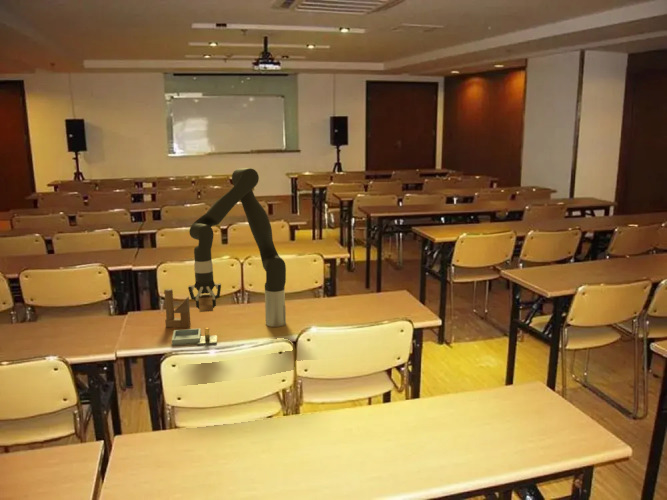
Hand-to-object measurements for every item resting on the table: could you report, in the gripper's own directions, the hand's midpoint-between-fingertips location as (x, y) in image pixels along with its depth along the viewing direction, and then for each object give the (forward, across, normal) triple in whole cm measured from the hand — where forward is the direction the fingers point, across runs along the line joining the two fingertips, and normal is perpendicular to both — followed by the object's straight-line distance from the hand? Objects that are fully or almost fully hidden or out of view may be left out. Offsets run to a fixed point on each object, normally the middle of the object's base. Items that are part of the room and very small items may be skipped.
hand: (206, 307), depth 240 cm
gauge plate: (+15, 0, 0) cm, 15 cm away
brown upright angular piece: (+16, +14, -21) cm, 30 cm away
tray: (+15, +9, -4) cm, 18 cm away
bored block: (+1, 0, 0) cm, 1 cm away
